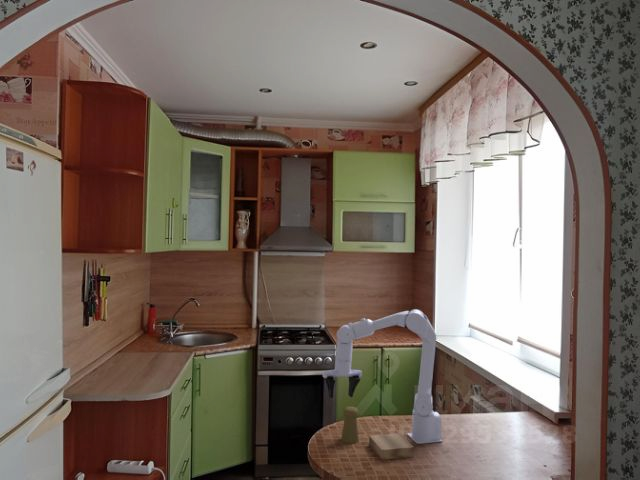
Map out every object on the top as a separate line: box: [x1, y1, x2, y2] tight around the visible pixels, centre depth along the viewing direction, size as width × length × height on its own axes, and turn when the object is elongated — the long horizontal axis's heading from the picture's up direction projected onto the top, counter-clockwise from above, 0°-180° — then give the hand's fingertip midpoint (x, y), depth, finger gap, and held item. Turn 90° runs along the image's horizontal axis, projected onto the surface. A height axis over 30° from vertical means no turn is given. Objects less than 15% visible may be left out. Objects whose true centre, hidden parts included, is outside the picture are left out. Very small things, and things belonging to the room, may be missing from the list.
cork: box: [340, 406, 360, 445], centre depth 163 cm, size 6×6×11 cm
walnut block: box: [368, 432, 415, 460], centre depth 156 cm, size 11×11×3 cm
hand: (340, 396), depth 172 cm, fingers open, 7 cm apart
